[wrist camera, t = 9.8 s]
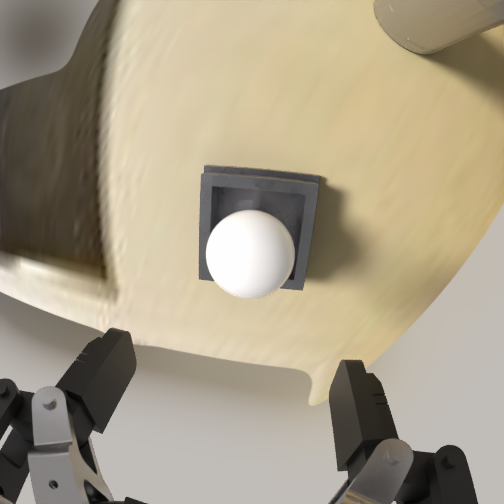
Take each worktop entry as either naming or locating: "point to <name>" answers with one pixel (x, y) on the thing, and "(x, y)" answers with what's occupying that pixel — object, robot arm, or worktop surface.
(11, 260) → the worktop surface
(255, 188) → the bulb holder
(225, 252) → the lightbulb
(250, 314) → the worktop surface
